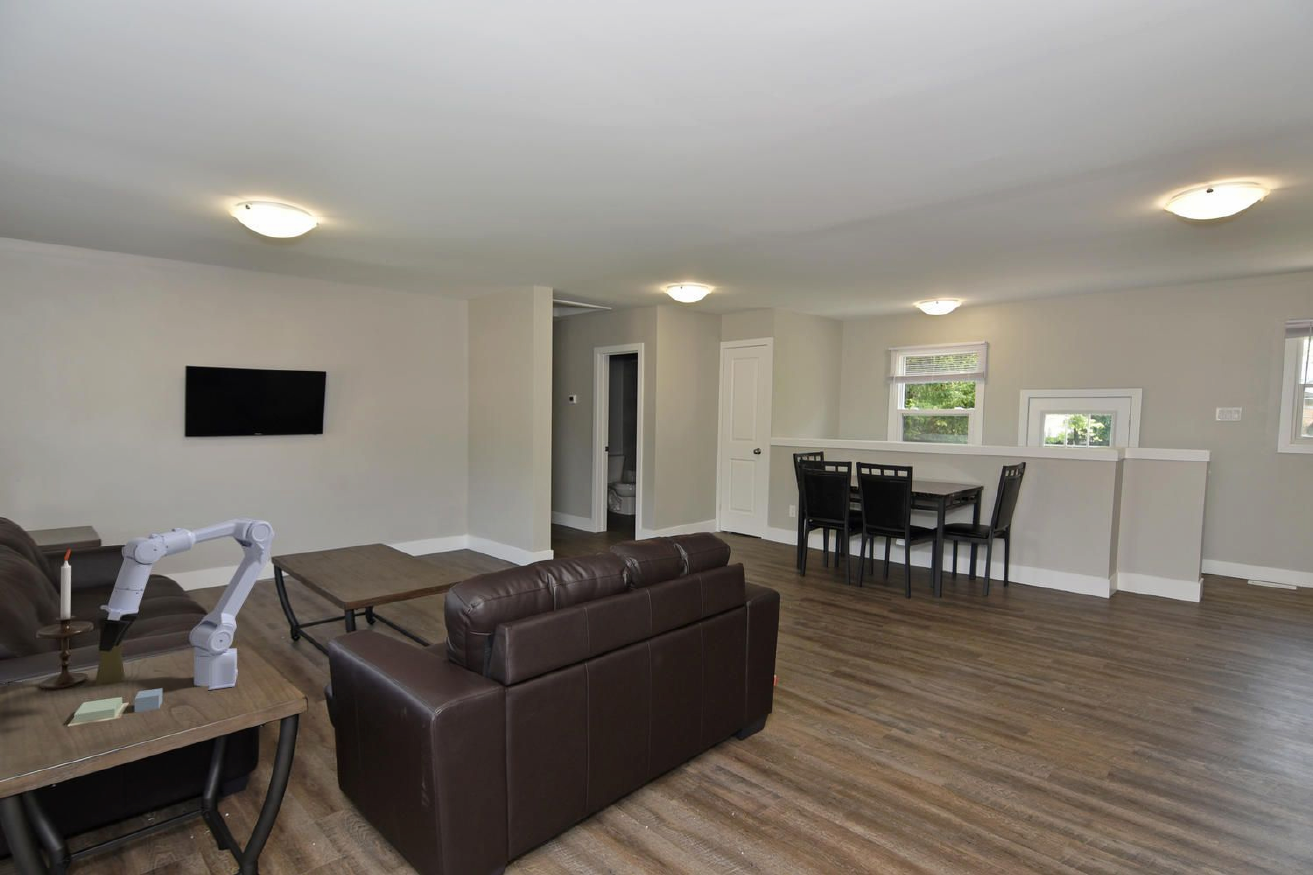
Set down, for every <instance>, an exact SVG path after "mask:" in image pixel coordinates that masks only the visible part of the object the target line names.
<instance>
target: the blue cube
mask: <svg viewBox="0 0 1313 875" xmlns="http://www.w3.org/2000/svg"><path fill="white" fill-rule="evenodd" d="M162 702H163V687H161V688H155V689H148V690H147V689H146V690H139V691H138V693H137V694H136V696H135V698H134V713H141V712H147V711H153V710H159V709H160V707H161V705H162Z"/></svg>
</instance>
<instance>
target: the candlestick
mask: <svg viewBox="0 0 1313 875" xmlns="http://www.w3.org/2000/svg"><path fill="white" fill-rule="evenodd" d="M70 554H71V548H69V549H68V550H67V552H66V553H65V556H64V563H63V565H61V567H60V569H61V570H60V616H58V617H56V618H55V619H54V621H59V623H56V624H52V625H47V626H44V627H41V628H39V629H37V630H36V632H35V633H36V635H35V636H36V638H39V639H44V640H45V639H47V640H49V639H51V640H52V639H53V640H54V639H59V640H60V639H61V652H58V654H57V658H59V659H60V662H59V663H58V666H59V667H61V669H60V673H59V675H55V676H51V677H49V678H47V679H45V680H43V681H42V682H40V689H41V690H43V689H45V691H56V690H57V689H59V690H63V689H64V690H65V689H69V688H73V687H77V686H79V685H82V684H84V683H86V682H87V681H88V680H89V675H88V674H87V673H86V672H72V673H71V672H70V671H69V666H70V665H72V661H70V658H71V657H72V656H73V652H72V650H69V646H70V645H69V640H70V638H72V637H74V636H79V635H81V634H82V635H83V634H85V633H88V632H91V630H93V629H94V623H93V622H91V621H85V620H84V621H82V620H81V621H72V619H75V618H76V617H77V616H76V615H71V598H72V597H71V592H72V591H71V590H72V589H71V588H72V587H71V586H72V585H71V584H72V580H71V579H72V578H71V576H72V565H70V564H69V562H68V559H69V557H70ZM57 691H58V690H57Z"/></svg>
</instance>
